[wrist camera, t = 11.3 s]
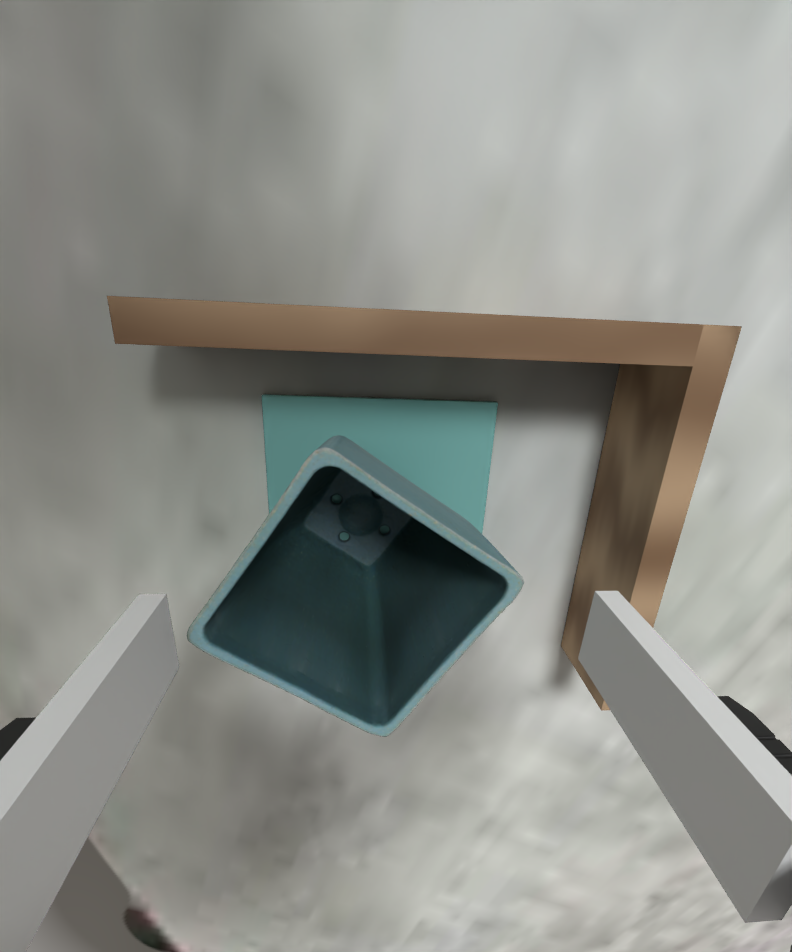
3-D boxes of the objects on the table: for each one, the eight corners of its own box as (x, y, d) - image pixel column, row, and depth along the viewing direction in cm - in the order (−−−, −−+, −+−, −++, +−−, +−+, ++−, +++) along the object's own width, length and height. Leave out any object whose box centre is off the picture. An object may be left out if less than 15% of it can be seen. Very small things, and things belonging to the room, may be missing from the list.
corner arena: (170, 305, 19) (106, 295, 15) (657, 327, 21) (741, 326, 16) (214, 651, 26) (180, 722, 21) (584, 645, 28) (628, 709, 23)
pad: (263, 394, 21) (261, 395, 20) (495, 401, 22) (497, 402, 21) (276, 596, 25) (274, 600, 24) (472, 595, 26) (474, 599, 25)
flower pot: (339, 398, 21) (318, 441, 12) (471, 492, 23) (532, 584, 14) (249, 528, 23) (178, 642, 14) (379, 604, 25) (385, 743, 16)
